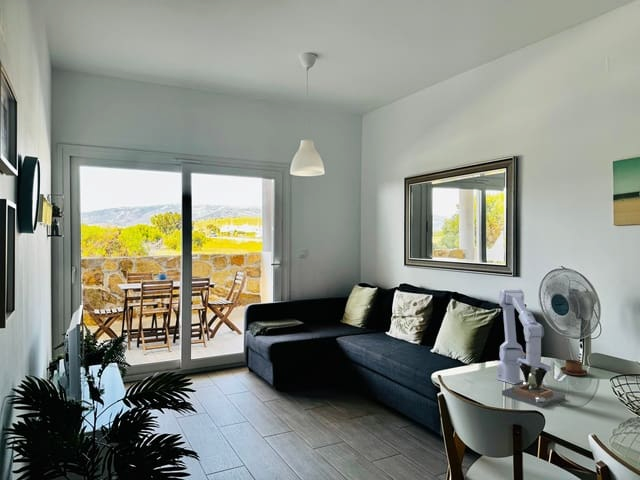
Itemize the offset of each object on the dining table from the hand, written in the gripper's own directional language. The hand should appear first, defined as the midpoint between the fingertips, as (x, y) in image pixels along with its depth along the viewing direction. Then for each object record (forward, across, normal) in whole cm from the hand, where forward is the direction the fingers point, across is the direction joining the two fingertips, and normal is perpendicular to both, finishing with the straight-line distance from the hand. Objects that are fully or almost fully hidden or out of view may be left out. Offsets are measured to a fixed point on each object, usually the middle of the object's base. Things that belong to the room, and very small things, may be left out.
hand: (533, 383), depth 190 cm
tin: (+6, +30, -35) cm, 47 cm away
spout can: (+2, 0, 0) cm, 2 cm away
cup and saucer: (+6, +11, -49) cm, 51 cm away
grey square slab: (+6, 0, 0) cm, 6 cm away
